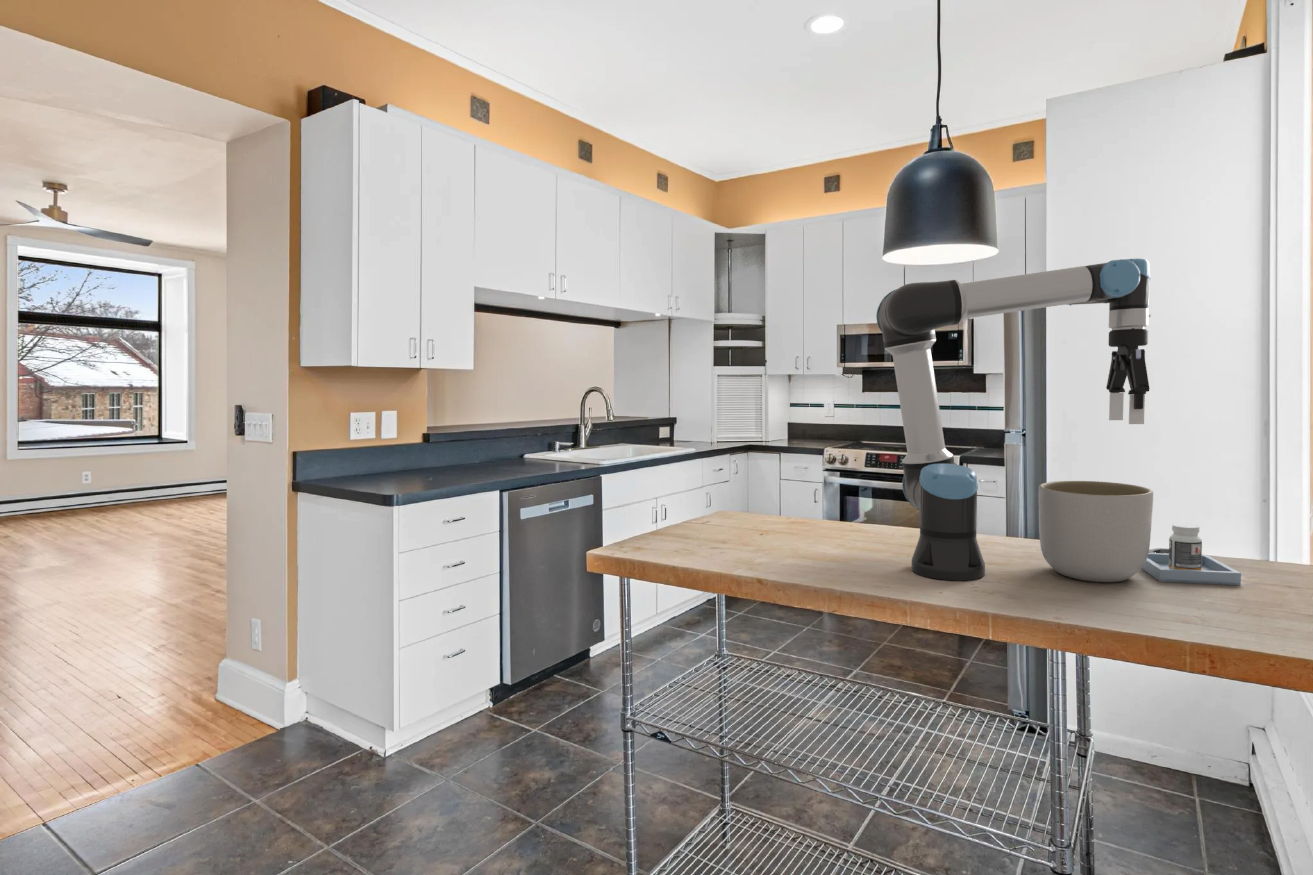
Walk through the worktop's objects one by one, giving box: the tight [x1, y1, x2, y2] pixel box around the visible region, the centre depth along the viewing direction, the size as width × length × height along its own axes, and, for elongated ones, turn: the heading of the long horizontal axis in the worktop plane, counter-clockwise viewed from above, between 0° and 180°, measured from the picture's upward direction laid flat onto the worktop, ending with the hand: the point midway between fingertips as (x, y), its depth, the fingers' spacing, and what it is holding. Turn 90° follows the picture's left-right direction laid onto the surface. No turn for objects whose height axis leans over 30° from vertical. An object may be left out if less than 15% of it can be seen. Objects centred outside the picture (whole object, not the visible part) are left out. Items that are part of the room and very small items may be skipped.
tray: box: [1141, 553, 1242, 586], centre depth 154 cm, size 14×15×2 cm
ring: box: [1148, 547, 1169, 554], centre depth 167 cm, size 10×10×1 cm
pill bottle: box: [1168, 523, 1203, 570], centre depth 154 cm, size 6×6×10 cm
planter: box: [1038, 480, 1154, 583], centre depth 154 cm, size 21×21×19 cm
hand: (1125, 422), depth 166 cm, fingers open, 13 cm apart
